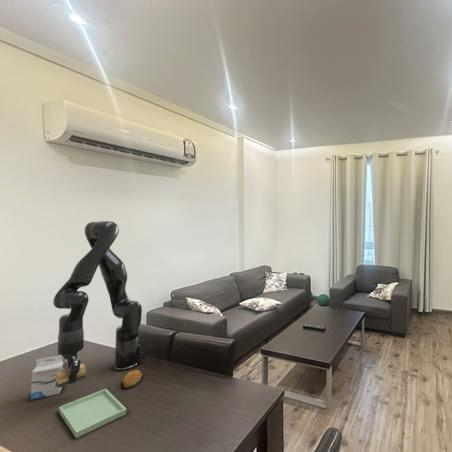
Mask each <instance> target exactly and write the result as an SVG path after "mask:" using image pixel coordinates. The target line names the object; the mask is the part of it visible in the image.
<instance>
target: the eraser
mask: <svg viewBox="0 0 452 452" xmlns="http://www.w3.org/2000/svg"><path fill="white" fill-rule="evenodd" d="M73 371H74V370H73ZM68 373H69V372H68V369H64V368H63V370H61V371H58V372H56V385H57V386H58V388H60V387H62V388H63V387H65V386H68V385H70V384H69V374H68ZM85 379H86V366H85V364H84V363H80V369H79V373H77V381H76V382H79V381H82V380H85Z"/></svg>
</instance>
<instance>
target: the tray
mask: <svg viewBox="0 0 452 452" xmlns="http://www.w3.org/2000/svg"><path fill="white" fill-rule="evenodd" d="M58 414H59V415H60V416H61V418H62V419H63V421H64V423H65V424H66V426H67V427H68V429H69V430H70V432H71V433H72V435H73V436H74V438H75V439H77V438H78V439H79V437H81V436H85V435H86V434H88V433H90V432H92V431H94V430H96V429H99V428H100V427H102V426H105V425H107V424H108V423H111V422H113V421H115V420H117V419H119V418H121V417H123V416H125V415H127V407H125V405H123V403H121V402H120V401H119V400H118V399H117V398H116V397H115V396H114V395H113V394H112V393H111V392H110V390H108V388H104V389H101V390H98V391H96V392H93V393H91V394H89V395H86V396H84V397H81V398H78V399H76V400H73V401H71V402H67V403H65V404H63V405H60V406H59V407H58Z"/></svg>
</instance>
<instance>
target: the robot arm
mask: <svg viewBox="0 0 452 452" xmlns="http://www.w3.org/2000/svg"><path fill="white" fill-rule="evenodd" d="M119 232H120V228H119V225H118V224H117V223H116V222H114V221H111V220H99V221H91V222H88V223H86V225H85V227H84V235H85V238H86V240H87V242H88V245H89V246H90V248H91V249H90V250H89V251H88V252H87V253H86V254H85V255H83V257H82V258H81V259H80V260H79V261H78V262H77V263H76V265H75V266H74V267H73V270H72V272H71V274H70V276H69V279H68V280H67V281H66V282H64V284H63V286H61V288H60V289H59V290H58V291H57V292H56V293H55V295H54V297H53V300H52V304H53V306H54V307H55V309H60V310H63V309H64V310H70V311H69V313H66V314H64V315H61V316H60V317H59V319H58V334H57V354H58V355H59V356H60V355H62V359H63V370H64V369H68V372H69V373H68V374H69V384H68V385H72V384H74V383H77V382H78V381H77V373H79V369H80V364H81V359H80V355H79V354H78V353H79V352H80V351H82V350H83V349H84V346H85V344H84V342H85V338H84V337H85V335H84V334H85V332H84V316H85V312H86V310H87V308H88V307H87V306H88V303H89V301H90V298H89V295H88V293H87V292H85V291H83V290H79V289H81V288H84V287H88V286H90V284H91V283H92V280H93V278H94V276H95V274H96V272H97V270H98V268H99V270H100V274H101V276H102V279H103V282H104V285H105V288H106V290H107V294H108V297H109V301H110V306H111V311H112V314H113V315H114V316H115V317H116V318H118V319H122V320H121V325H119V326H117V328H116V329H115V347H114V348H115V350H114V352H115V353H114V370H116V371H126V370H129V369H132V368H135V367H137V365H139V364H140V360H141V359H142V357H145V356H146V355H145V352H142V351H141V344H139V336H140V335H139V334H140V333H139V331H140V326H141V324H142V316H143V315H142V314H143V307H142V304H141V303H140V302H139V301H138V300H132V299H130V298H129V296H128V294H127V290H126V285H127V282H128V271H127V268H126V265H125V263H124V261H123V260H122V259H121V258H120V257H119V256H118V255H117V254H116V253H115V252H114V251H113V250H112V249H111V247H112V245H113V243H114V242H115V241H116V239H117V237H118V235H119ZM73 370H74V371H73Z"/></svg>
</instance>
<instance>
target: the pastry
mask: <svg viewBox="0 0 452 452" xmlns="http://www.w3.org/2000/svg"><path fill="white" fill-rule="evenodd" d="M142 376H143V373H142V372H141V371H140V370H138V369H133V370H131V371H128V372H127V373H126V375H125V376H124V377H123V379H122V385H123V388H124V389H126V388H131V387H135V386H136V385H137V384H138V383H139V381H140V380H141V378H142Z"/></svg>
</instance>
